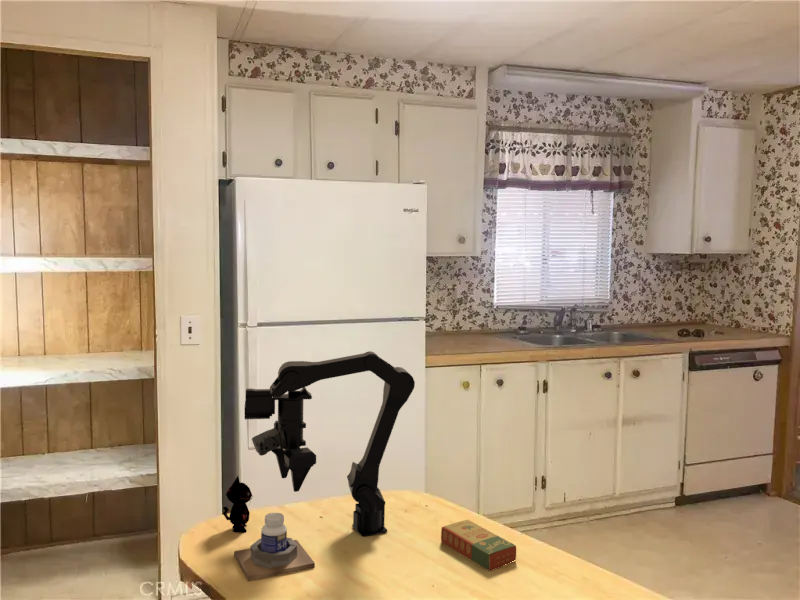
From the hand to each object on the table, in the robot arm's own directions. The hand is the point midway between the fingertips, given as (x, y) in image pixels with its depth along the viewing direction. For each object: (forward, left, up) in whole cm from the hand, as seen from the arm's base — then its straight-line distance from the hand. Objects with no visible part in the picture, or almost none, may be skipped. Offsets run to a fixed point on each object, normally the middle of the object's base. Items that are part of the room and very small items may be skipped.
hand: (290, 484), depth 155 cm
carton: (-35, +25, -13) cm, 45 cm away
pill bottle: (+7, +11, -11) cm, 17 cm away
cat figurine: (+10, -8, -12) cm, 18 cm away
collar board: (+7, +11, -12) cm, 18 cm away
